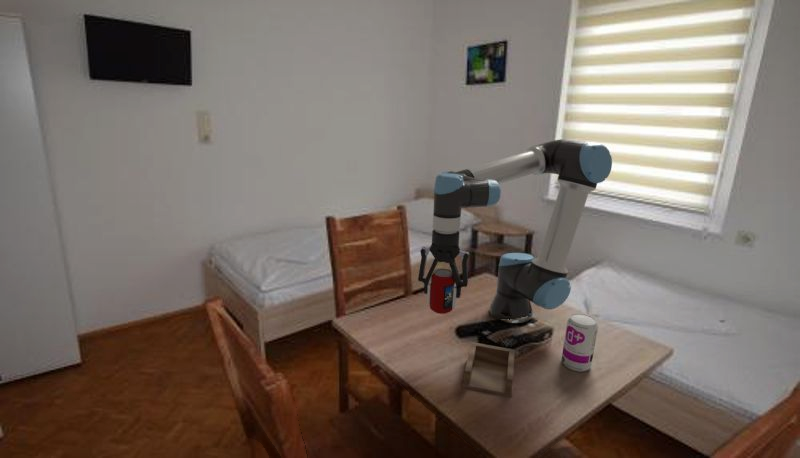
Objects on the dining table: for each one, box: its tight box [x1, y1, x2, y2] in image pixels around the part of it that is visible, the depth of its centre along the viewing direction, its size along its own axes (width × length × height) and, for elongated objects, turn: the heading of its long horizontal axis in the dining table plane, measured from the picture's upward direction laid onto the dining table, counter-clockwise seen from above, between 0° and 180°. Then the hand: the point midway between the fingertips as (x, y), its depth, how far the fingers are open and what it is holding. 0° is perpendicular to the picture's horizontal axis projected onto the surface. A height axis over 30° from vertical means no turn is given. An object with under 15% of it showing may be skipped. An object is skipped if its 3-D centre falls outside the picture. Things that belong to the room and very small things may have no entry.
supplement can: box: [561, 313, 599, 372], centre depth 126 cm, size 8×8×15 cm
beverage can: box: [429, 268, 456, 315], centre depth 124 cm, size 7×7×12 cm
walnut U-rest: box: [462, 342, 516, 398], centre depth 121 cm, size 15×13×5 cm
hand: (441, 305), depth 125 cm, fingers closed on beverage can, 7 cm apart
